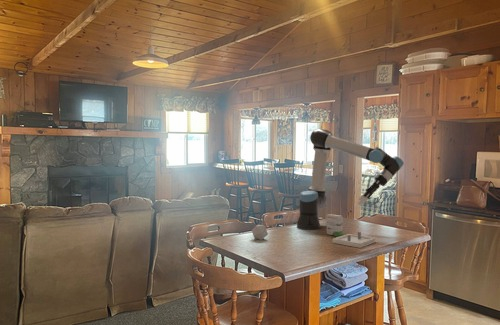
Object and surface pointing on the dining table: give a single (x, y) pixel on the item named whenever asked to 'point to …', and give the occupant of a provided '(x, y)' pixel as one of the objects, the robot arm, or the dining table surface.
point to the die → (259, 232)
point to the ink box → (335, 225)
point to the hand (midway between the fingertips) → (360, 202)
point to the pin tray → (354, 240)
